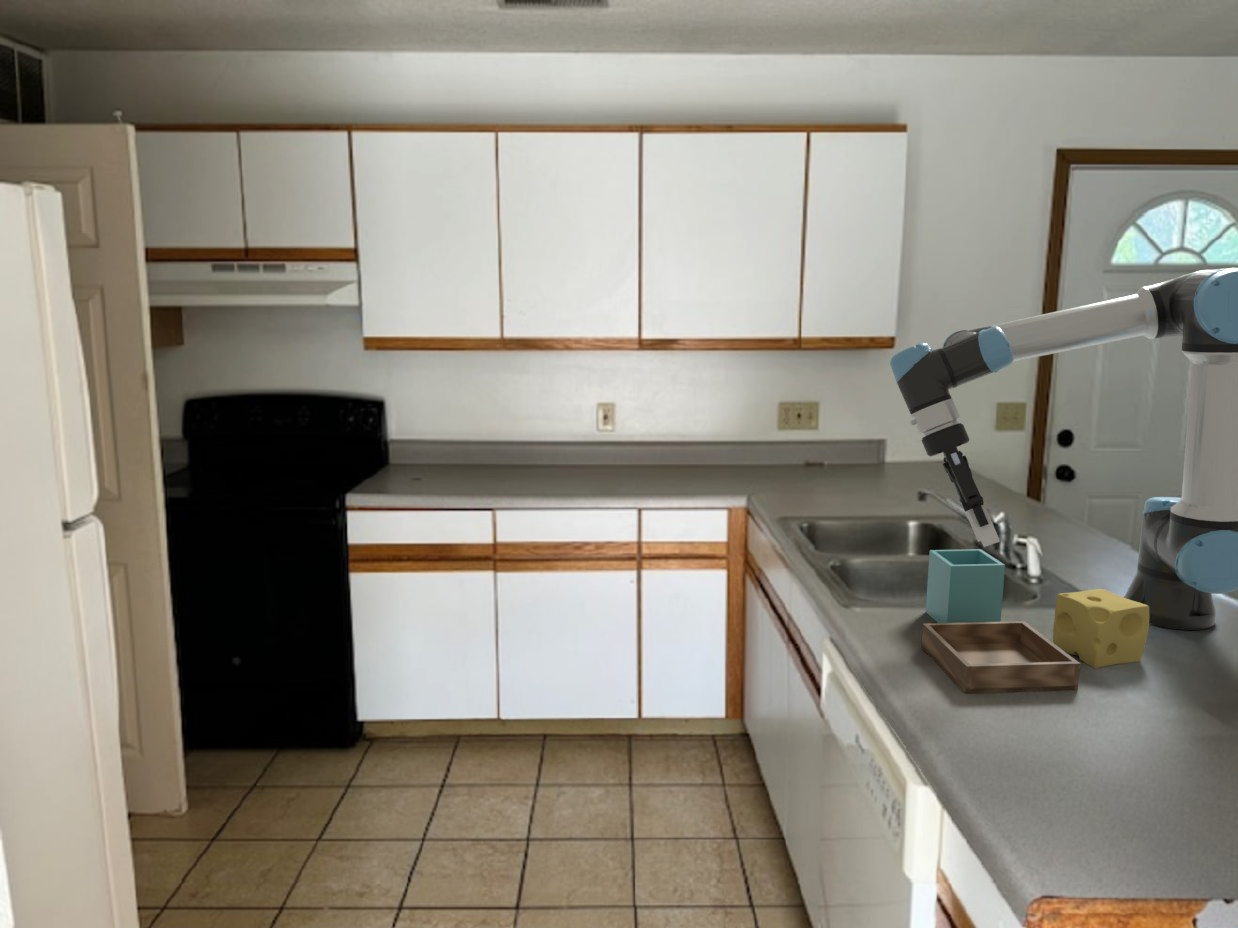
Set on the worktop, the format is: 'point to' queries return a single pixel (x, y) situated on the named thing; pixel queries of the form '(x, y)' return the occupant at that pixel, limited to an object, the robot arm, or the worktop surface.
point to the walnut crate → (999, 657)
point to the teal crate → (964, 586)
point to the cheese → (1100, 627)
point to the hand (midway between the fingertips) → (988, 541)
